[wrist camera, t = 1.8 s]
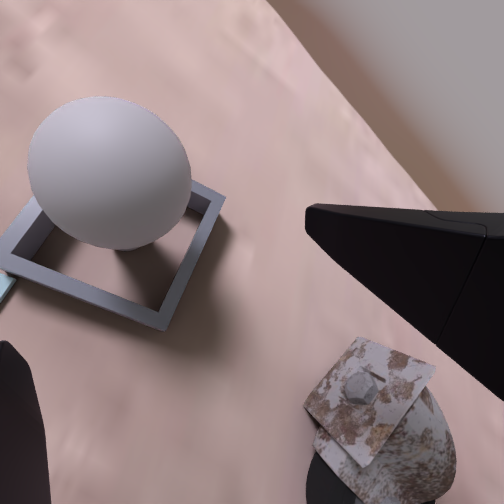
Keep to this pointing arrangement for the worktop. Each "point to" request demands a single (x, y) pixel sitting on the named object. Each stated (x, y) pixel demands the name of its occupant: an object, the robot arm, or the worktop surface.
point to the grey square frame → (27, 244)
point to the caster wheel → (378, 431)
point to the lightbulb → (109, 172)
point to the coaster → (5, 285)
